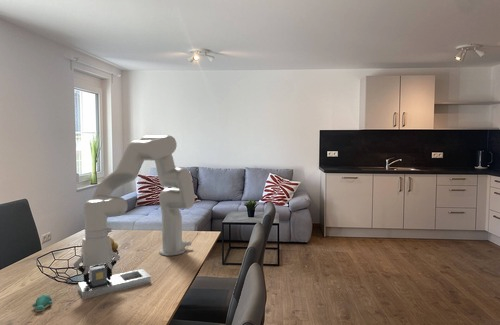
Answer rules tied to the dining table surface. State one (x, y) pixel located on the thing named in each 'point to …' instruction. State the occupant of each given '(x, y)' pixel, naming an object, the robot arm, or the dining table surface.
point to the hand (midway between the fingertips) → (98, 280)
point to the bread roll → (113, 244)
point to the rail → (115, 283)
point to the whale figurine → (42, 302)
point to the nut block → (98, 276)
